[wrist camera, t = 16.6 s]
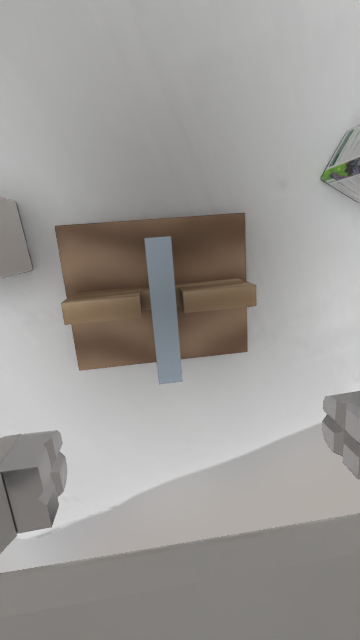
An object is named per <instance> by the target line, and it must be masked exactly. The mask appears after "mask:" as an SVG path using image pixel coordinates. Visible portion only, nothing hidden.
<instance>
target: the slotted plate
mask: <svg viewBox="0 0 360 640" xmlns="http://www.w3.org/2000/svg"><path fill="white" fill-rule="evenodd" d="M144 240H145V250H146V260H147V270H148V279H149V289H150V299H151V309H152V319H153V329H154V339H155V349H156V359H157V369H158V379H159V384H165V383H174V382H182V370H181V357H180V345H179V332H178V319H177V307H176V294H175V281H174V269H173V256H172V243H171V236H167V237H154V238H144Z"/></svg>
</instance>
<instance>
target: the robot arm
mask: <svg viewBox="0 0 360 640" xmlns="http://www.w3.org/2000/svg"><path fill="white" fill-rule="evenodd" d="M323 410H324V411H325V412H326V413H327V415H326V417H325V418H324V420H323V421H322V432H323V436H324V440H325V441H326V443H327V445H328V447H329V448H330V449H331V450H332V451H333V452H334V453H336V454H338V455H340V456H342V457H343V464H344V465H345V466H346V467H347V468H348V469H349V470H350V471H351V472H352V474H353V475H354V476H355V477H356V478H357V479H360V391H357V392H351V393H344V394H338V395H331V396H325V399H324V401H323ZM61 446H62V438H61V434H60V432H59V431H58V430H55V431H46V432H37V433H28V434H18V435H11V436H5V437H2V438H0V554H1V552H2V551H3V550H4V549H5V548H6V547H7V546H8V545H9V544H10V543H11V541H12V540H13V539H14V538H15V537H16V536H17V533H23V532H28V531H33V530H39V529H44V528H50V527H52V525H53V522H54V519H55V516H56V513H57V510H58V507H59V503H58V498H57V497H58V496H59V495H60V494H62V493H63V491H64V488H65V485H66V478H67V463H66V458H65V456H64V455H63V454H62V453H61V452H60V449H61ZM0 640H360V513H359V514H353V515H347V516H341V517H335V518H329V519H323V520H317V521H311V522H305V523H299V524H293V525H287V526H281V527H275V528H269V529H263V530H257V531H251V532H245V533H239V534H234V535H227V536H221V537H215V538H209V539H204V540H197V541H191V542H186V543H179V544H174V545H167V546H161V547H156V548H150V549H144V550H137V551H131V552H126V553H119V554H113V555H107V556H101V557H95V558H90V559H83V560H77V561H71V562H66V563H59V564H54V565H48V566H41V567H35V568H29V569H23V570H18V571H11V572H5V573H0Z"/></svg>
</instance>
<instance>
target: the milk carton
mask: <svg viewBox="0 0 360 640" xmlns="http://www.w3.org/2000/svg"><path fill="white" fill-rule="evenodd" d="M32 270H33V268H32V264H31V260H30V256H29V252H28V248H27V244H26V241H25V237H24V233H23V229H22V225H21V221H20V217H19V213H18V209H17V205H16V202H15V201H12V200H9V199H6V198H3V197H0V278H4V277H8V276H12V275H16V274H20V273H24V272H28V271H32Z"/></svg>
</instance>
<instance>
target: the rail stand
mask: <svg viewBox="0 0 360 640" xmlns="http://www.w3.org/2000/svg"><path fill="white" fill-rule="evenodd" d="M55 231H56V237H57V243H58V249H59V255H60V260H61V266H62V272H63V278H64V284H65V290H66V296H67V299H66V300H65V301H63V302H62V303H61V306H62V312H63V318H64V323H65V325H68V324H71V325H72V331H73V337H74V343H75V349H76V355H77V360H78V366H79V370H88V369H97V368H106V367H115V366H124V365H133V364H142V363H151V362H157V359H156V349H155V339H154V329H153V319H152V309H151V299H150V289H149V279H148V270H147V260H146V250H145V240H144V238H154V237H167V236H171V243H172V256H173V269H174V281H175V294H176V307H177V319H178V332H179V345H180V357H181V359H187V358H196V357H205V356H214V355H223V354H232V353H241V352H247V307H252V306H256V285H254V284H251V283H249V282H246V247H245V213H234V214H220V215H205V216H191V217H177V218H162V219H148V220H134V221H119V222H105V223H90V224H76V225H62V226H55Z"/></svg>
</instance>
